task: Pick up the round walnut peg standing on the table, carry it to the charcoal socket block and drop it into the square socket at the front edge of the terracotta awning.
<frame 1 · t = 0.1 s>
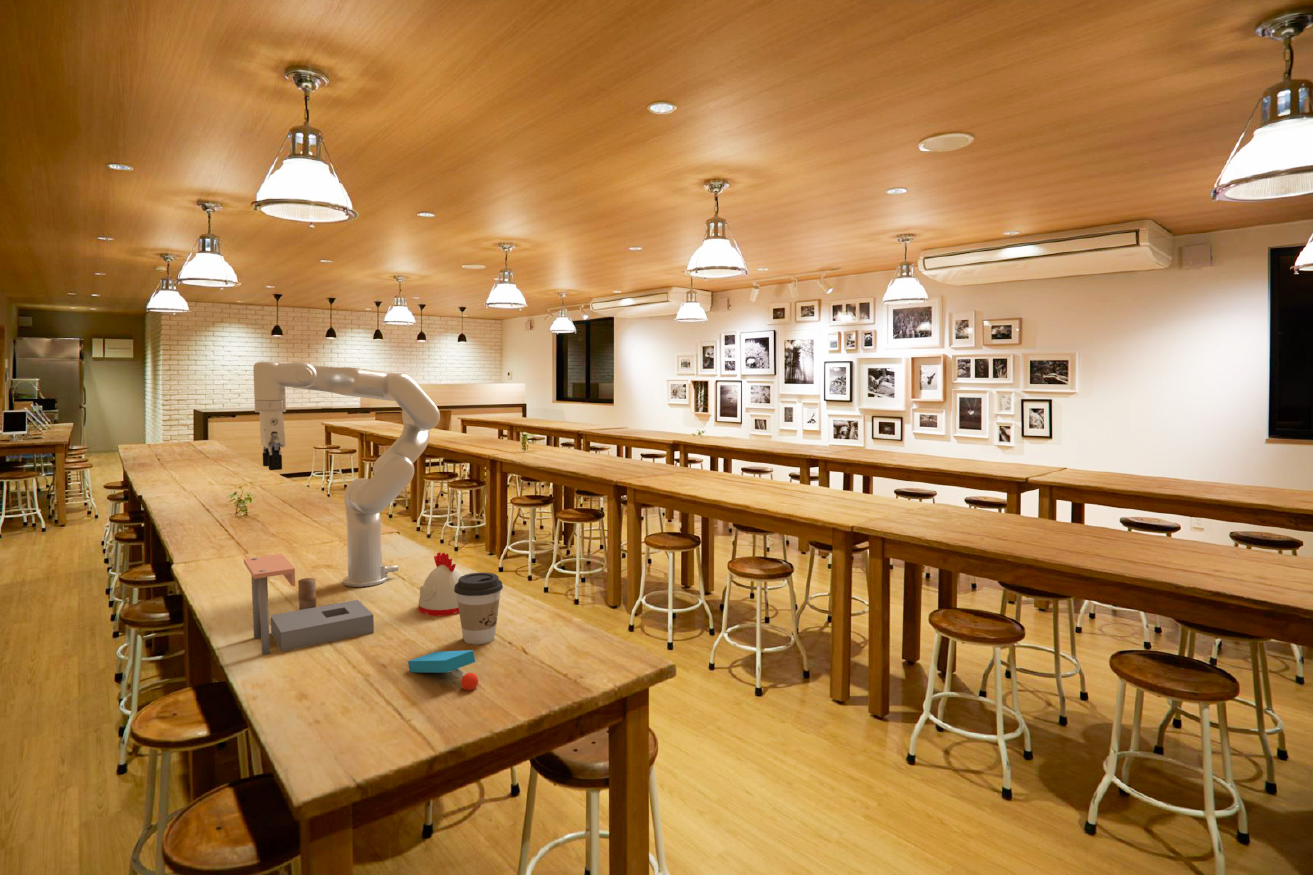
hand: (272, 467, 190), 37 cm above the table, tool pointing down, fingers open, 9 cm apart
kitchen timer: (445, 608, 186), on the table
coffee cup: (479, 639, 163), on the table
lever: (447, 679, 142), on the table
awning: (270, 603, 158), on the table
socket block: (336, 630, 168), on the table
walnut peg: (307, 613, 179), on the table
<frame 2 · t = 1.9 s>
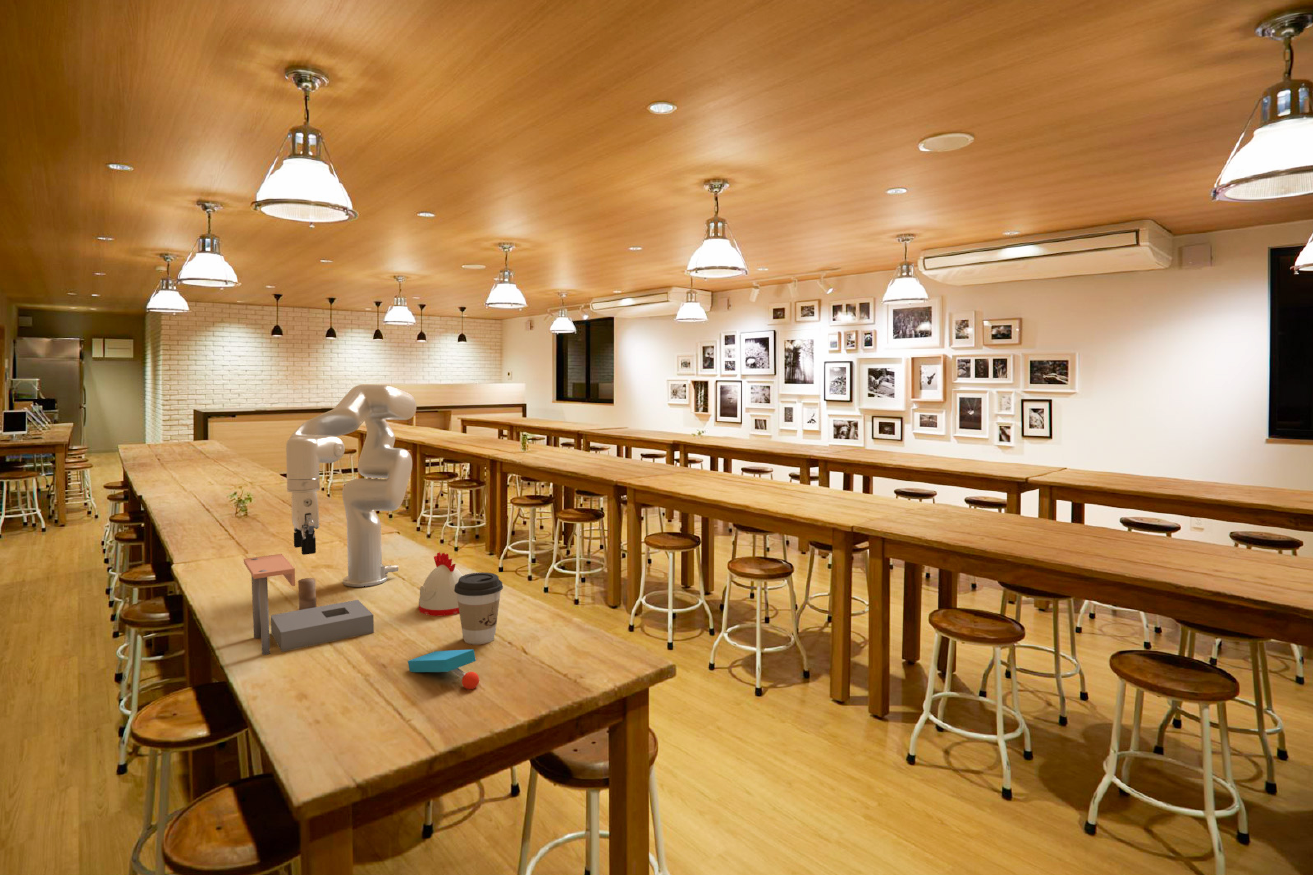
hand: (304, 550, 177), 17 cm above the table, tool pointing down, fingers open, 9 cm apart
nothing on the table moved.
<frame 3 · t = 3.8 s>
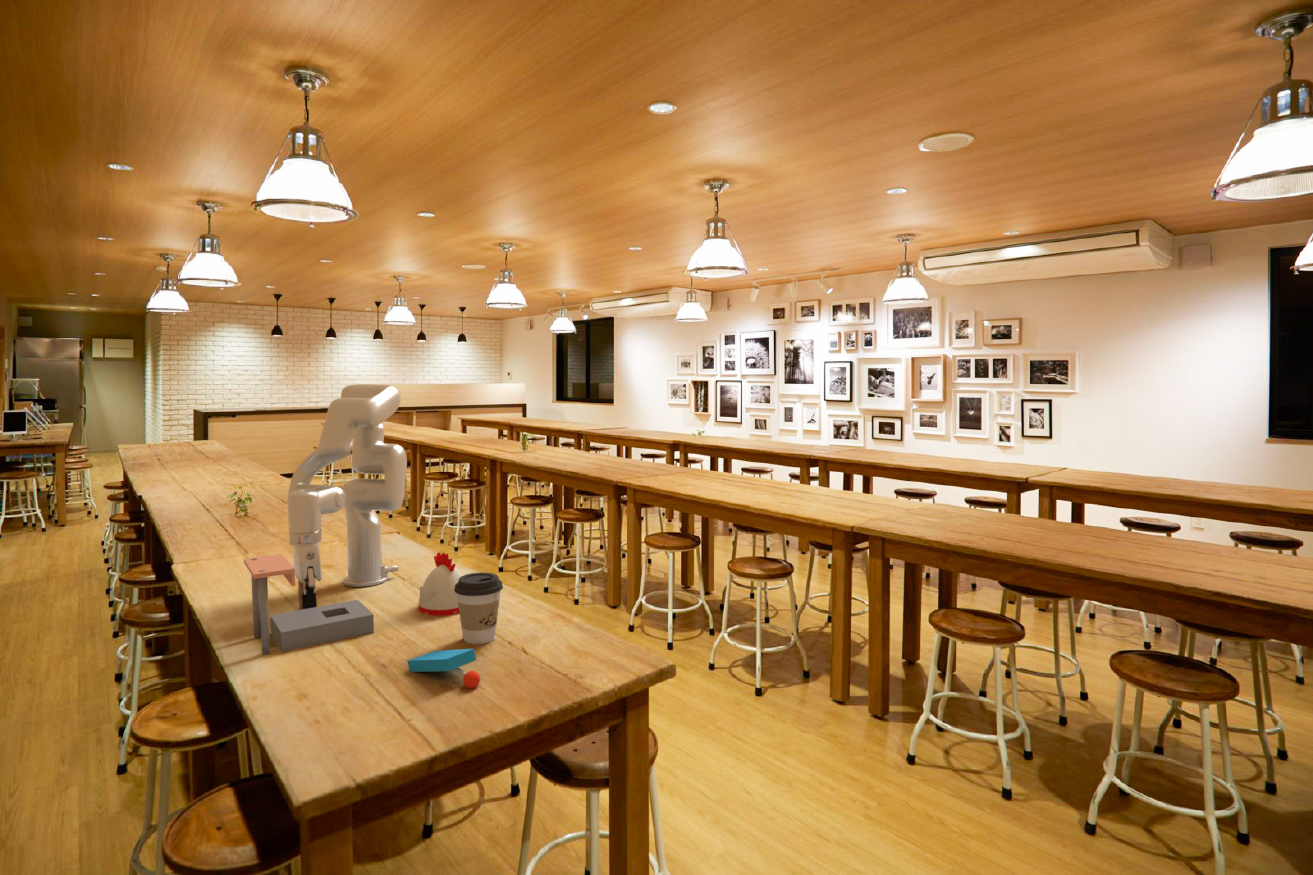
hand: (307, 605, 179), 2 cm above the table, tool pointing down, fingers closed on walnut peg, 4 cm apart
walnut peg: (307, 613, 179), on the table, touching gripper
everything else where it was.
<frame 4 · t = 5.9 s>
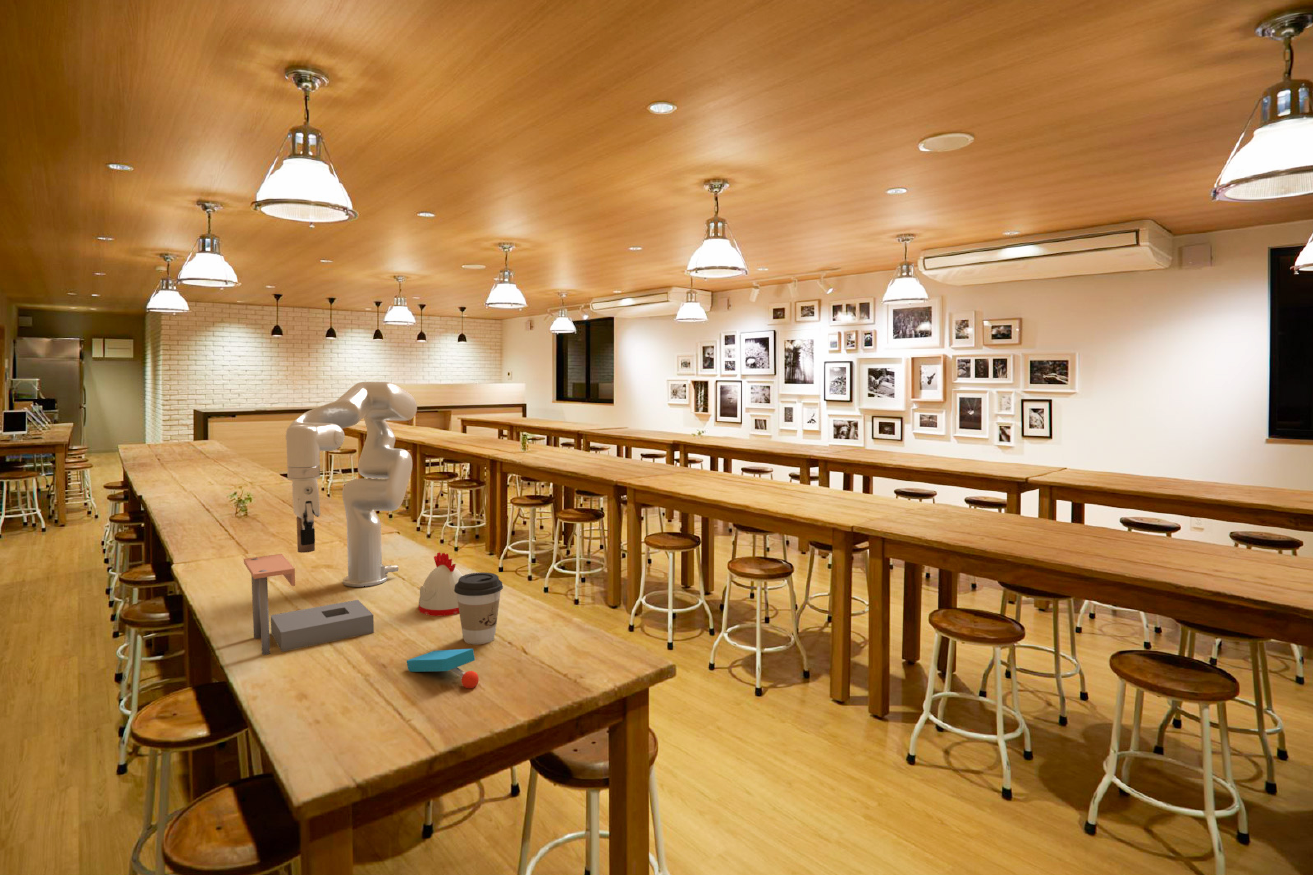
hand: (306, 541, 177), 19 cm above the table, tool pointing down, fingers closed on walnut peg, 4 cm apart
walnut peg: (306, 550, 177), point 17 cm above the table, touching gripper
everything else where it was.
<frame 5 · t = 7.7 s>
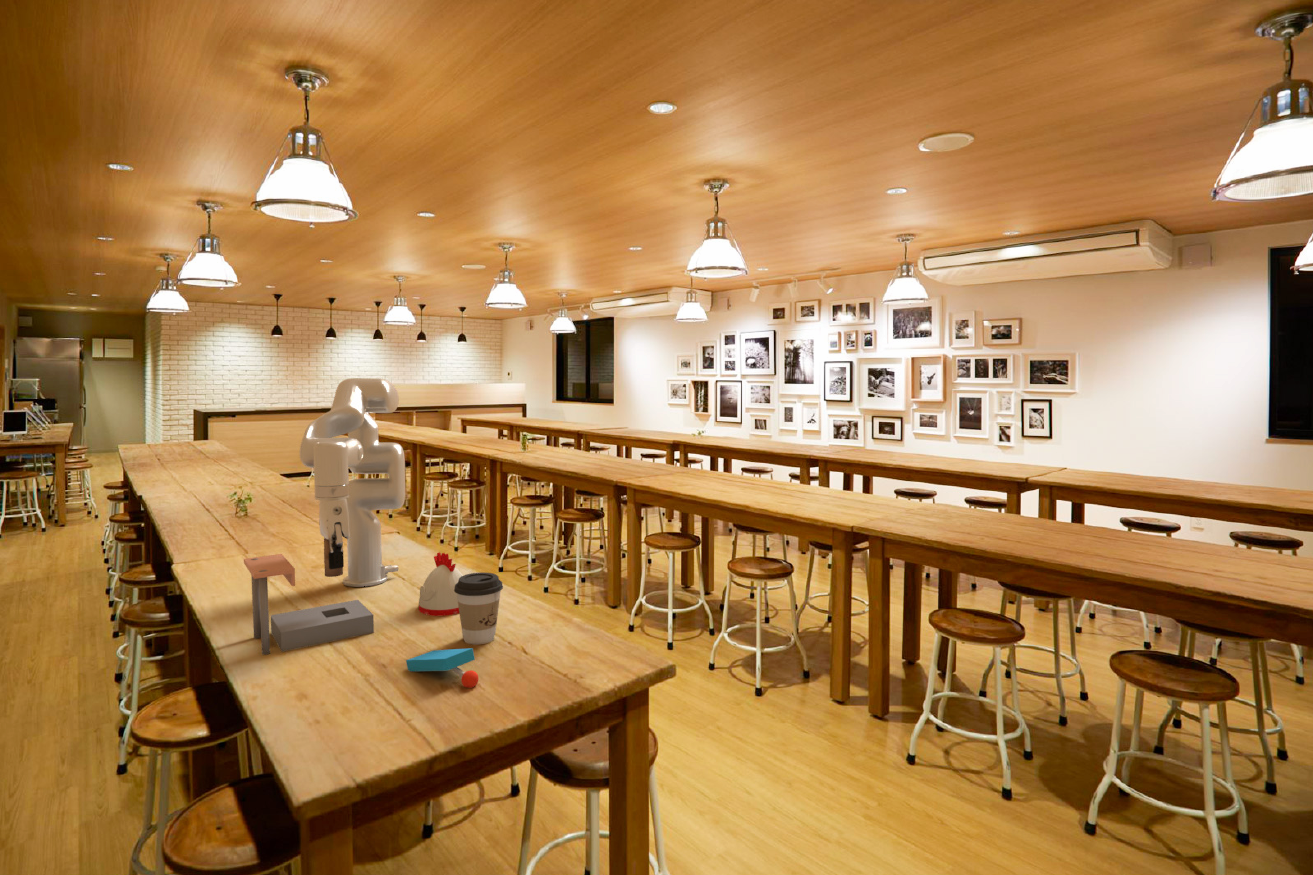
hand: (333, 565, 166), 16 cm above the table, tool pointing down, fingers closed on walnut peg, 4 cm apart
walnut peg: (333, 574, 166), point 14 cm above the table, touching gripper
everything else where it was.
when the fingers open (5 cm above the table, at t = 10.2 s): walnut peg drops 3 cm, resting in socket block.
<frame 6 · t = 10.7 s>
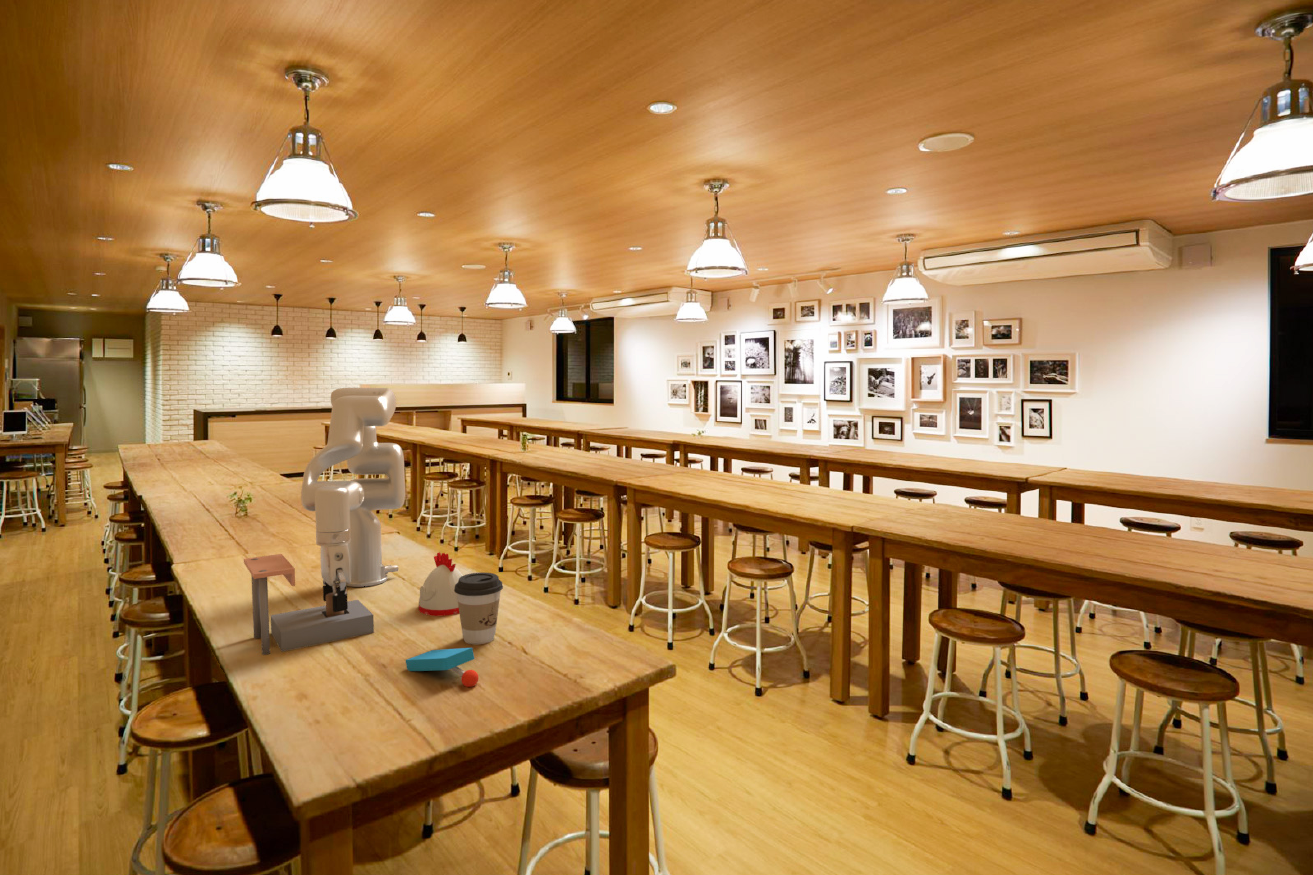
hand: (335, 605, 167), 6 cm above the table, tool pointing down, fingers open, 9 cm apart
walnut peg: (335, 630, 168), resting in socket block
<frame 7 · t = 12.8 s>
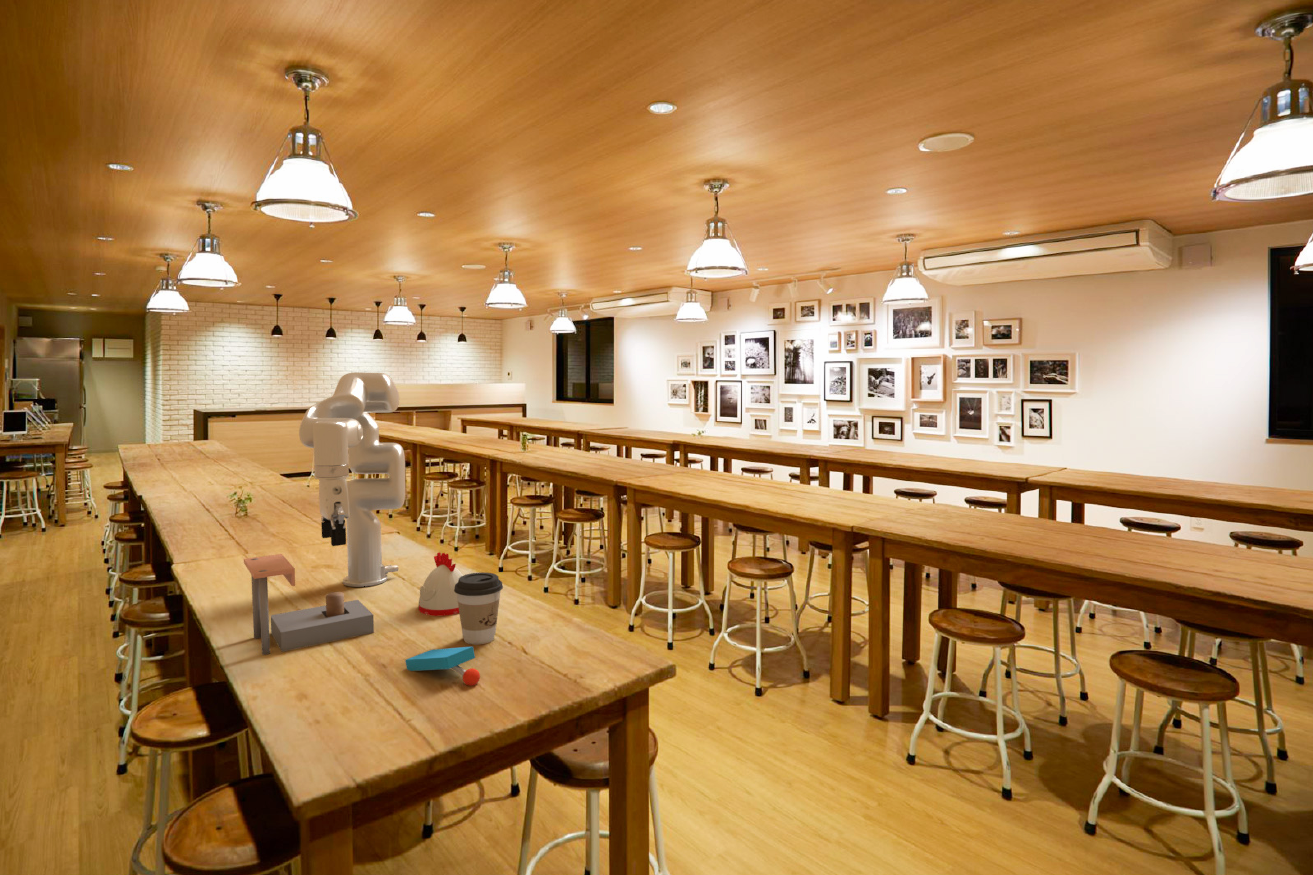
hand: (333, 541, 166), 22 cm above the table, tool pointing down, fingers open, 9 cm apart
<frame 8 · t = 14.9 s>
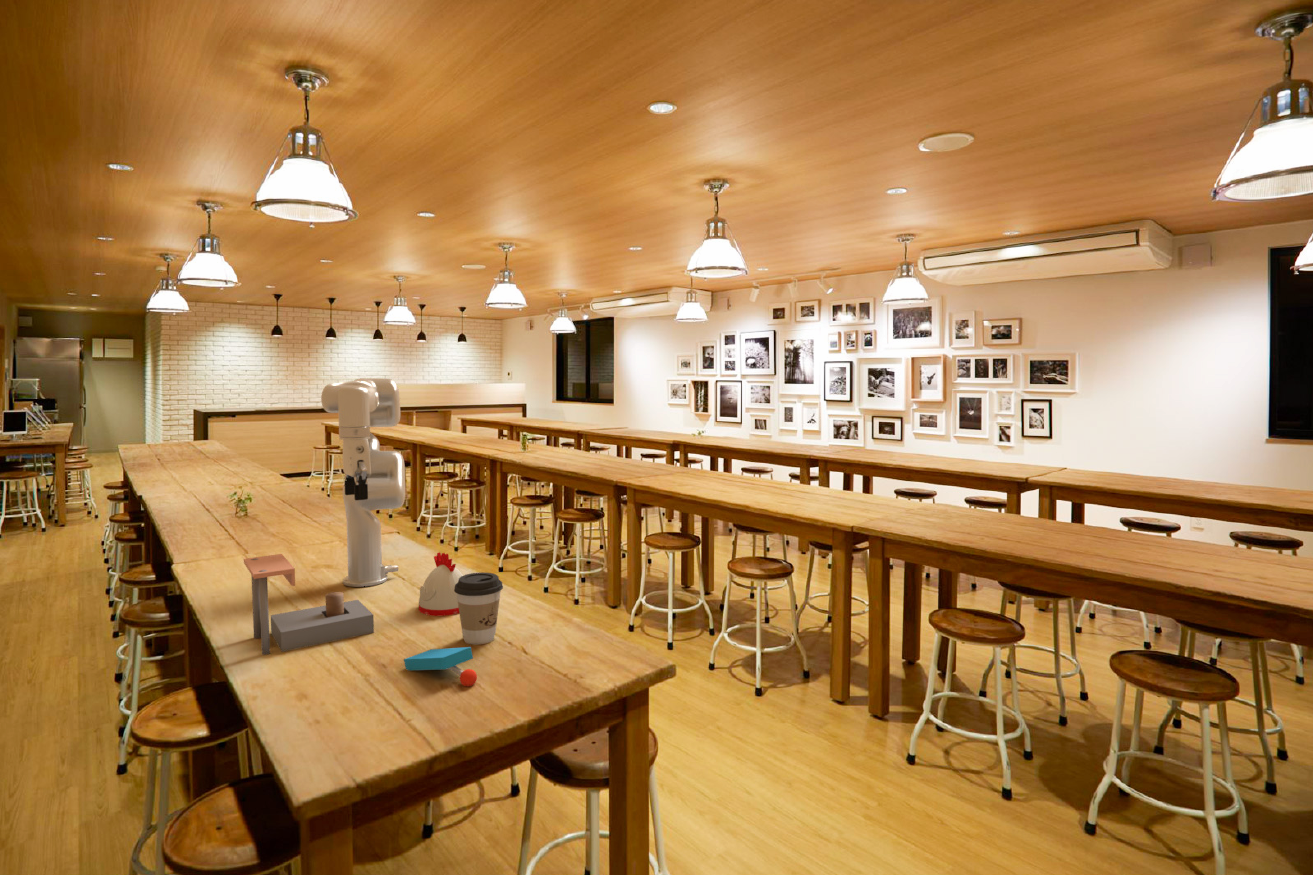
hand: (356, 497, 182), 30 cm above the table, tool pointing down, fingers open, 9 cm apart
at the end: walnut peg 0.1 cm off-centre on the socket block, point 0.0 cm above the socket block's base; walnut peg tilted 0°; the gripper is holding nothing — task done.
